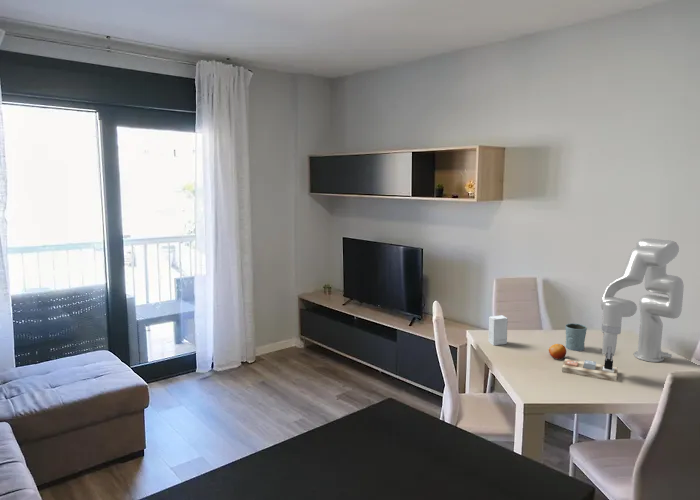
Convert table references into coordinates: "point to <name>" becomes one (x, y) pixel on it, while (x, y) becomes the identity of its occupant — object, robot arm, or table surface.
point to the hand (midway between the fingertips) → (608, 368)
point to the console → (589, 371)
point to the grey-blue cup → (575, 336)
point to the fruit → (557, 351)
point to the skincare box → (498, 330)
